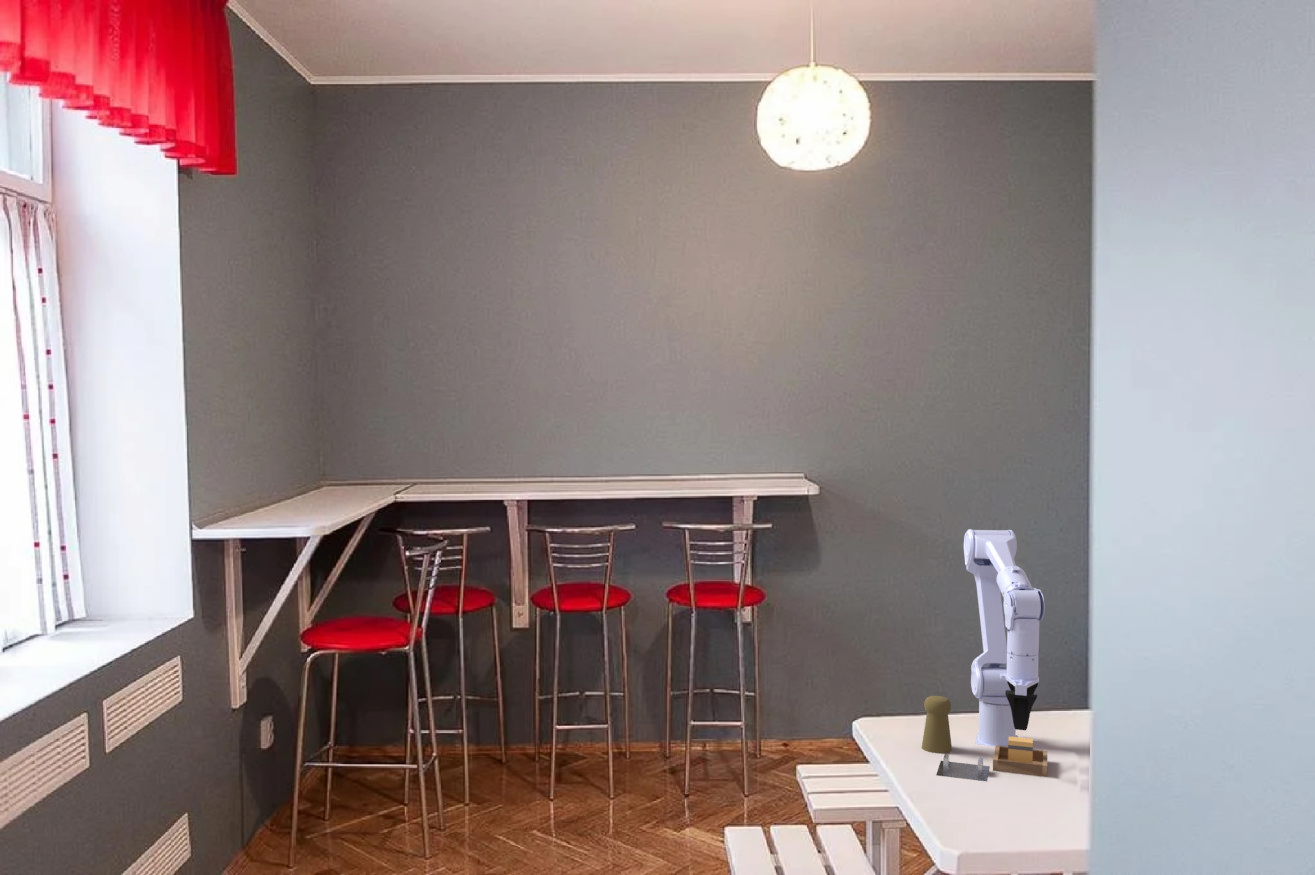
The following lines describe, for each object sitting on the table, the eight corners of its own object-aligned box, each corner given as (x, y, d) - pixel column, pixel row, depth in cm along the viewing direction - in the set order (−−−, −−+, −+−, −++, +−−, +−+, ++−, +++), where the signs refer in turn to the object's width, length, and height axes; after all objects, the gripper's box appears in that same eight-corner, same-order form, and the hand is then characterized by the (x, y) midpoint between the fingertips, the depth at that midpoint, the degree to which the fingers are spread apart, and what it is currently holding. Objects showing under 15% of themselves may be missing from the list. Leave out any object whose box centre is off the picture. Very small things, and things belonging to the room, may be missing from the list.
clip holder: (940, 763, 213) (941, 748, 213) (989, 769, 210) (989, 753, 209) (936, 778, 204) (936, 762, 204) (986, 784, 201) (987, 768, 201)
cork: (953, 757, 217) (954, 701, 216) (921, 755, 218) (922, 699, 218) (951, 748, 223) (952, 694, 222) (920, 746, 224) (921, 692, 223)
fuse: (1007, 762, 212) (1008, 736, 212) (1032, 764, 211) (1033, 738, 211) (1007, 766, 209) (1008, 740, 209) (1032, 769, 208) (1033, 743, 208)
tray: (995, 758, 216) (995, 745, 216) (1047, 764, 213) (1047, 751, 213) (992, 773, 207) (992, 760, 207) (1046, 780, 204) (1047, 766, 204)
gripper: (1002, 643, 218) (1000, 711, 218) (998, 659, 204) (997, 732, 204) (1040, 646, 215) (1038, 715, 216) (1039, 662, 202) (1037, 736, 202)
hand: (1021, 724), depth 210 cm, fingers open, 7 cm apart
